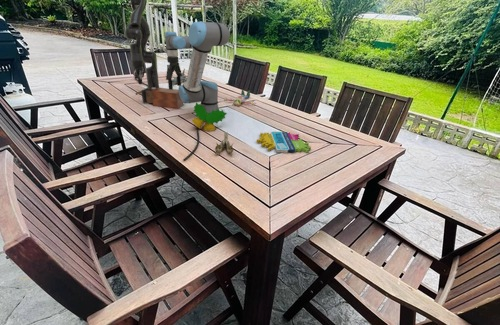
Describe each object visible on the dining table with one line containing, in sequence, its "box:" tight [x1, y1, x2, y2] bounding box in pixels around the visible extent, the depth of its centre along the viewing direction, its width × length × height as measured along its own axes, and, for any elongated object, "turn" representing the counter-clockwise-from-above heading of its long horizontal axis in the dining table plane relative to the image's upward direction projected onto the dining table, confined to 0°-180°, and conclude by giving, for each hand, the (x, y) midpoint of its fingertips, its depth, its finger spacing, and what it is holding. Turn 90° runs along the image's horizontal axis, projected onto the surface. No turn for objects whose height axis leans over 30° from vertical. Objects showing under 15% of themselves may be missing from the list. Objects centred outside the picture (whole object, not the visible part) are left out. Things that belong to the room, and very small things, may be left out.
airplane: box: [171, 68, 187, 86], centre depth 265 cm, size 38×32×10 cm
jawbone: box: [214, 131, 234, 156], centre depth 136 cm, size 9×15×10 cm
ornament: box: [191, 102, 228, 132], centre depth 162 cm, size 21×8×15 cm, turn 105°
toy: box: [223, 89, 257, 106], centre depth 219 cm, size 28×7×30 cm
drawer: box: [135, 87, 154, 104], centre depth 199 cm, size 24×9×10 cm, turn 78°
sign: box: [256, 131, 312, 154], centre depth 152 cm, size 26×2×30 cm
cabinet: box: [152, 86, 185, 110], centre depth 197 cm, size 20×11×12 cm, turn 78°
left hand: (140, 84), depth 196 cm, fingers closed
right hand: (175, 87), depth 192 cm, fingers open, 13 cm apart
